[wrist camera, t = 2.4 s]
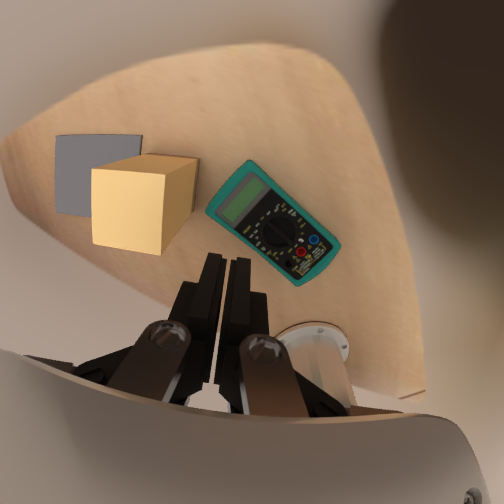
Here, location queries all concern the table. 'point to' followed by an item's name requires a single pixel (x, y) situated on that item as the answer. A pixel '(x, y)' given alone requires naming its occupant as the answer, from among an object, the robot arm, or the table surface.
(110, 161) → the mat
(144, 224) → the ochre block
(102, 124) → the table surface
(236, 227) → the digital multimeter
